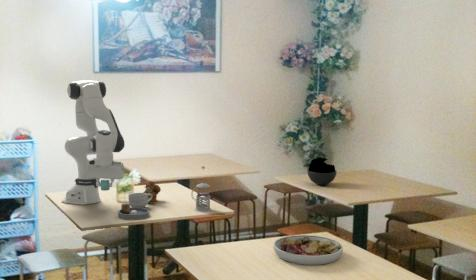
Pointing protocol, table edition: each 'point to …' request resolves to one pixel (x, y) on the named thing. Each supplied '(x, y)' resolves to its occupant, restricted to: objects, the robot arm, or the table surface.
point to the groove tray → (135, 213)
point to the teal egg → (105, 185)
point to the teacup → (139, 199)
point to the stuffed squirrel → (152, 191)
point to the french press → (202, 198)
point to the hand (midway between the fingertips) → (105, 186)
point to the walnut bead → (125, 208)
